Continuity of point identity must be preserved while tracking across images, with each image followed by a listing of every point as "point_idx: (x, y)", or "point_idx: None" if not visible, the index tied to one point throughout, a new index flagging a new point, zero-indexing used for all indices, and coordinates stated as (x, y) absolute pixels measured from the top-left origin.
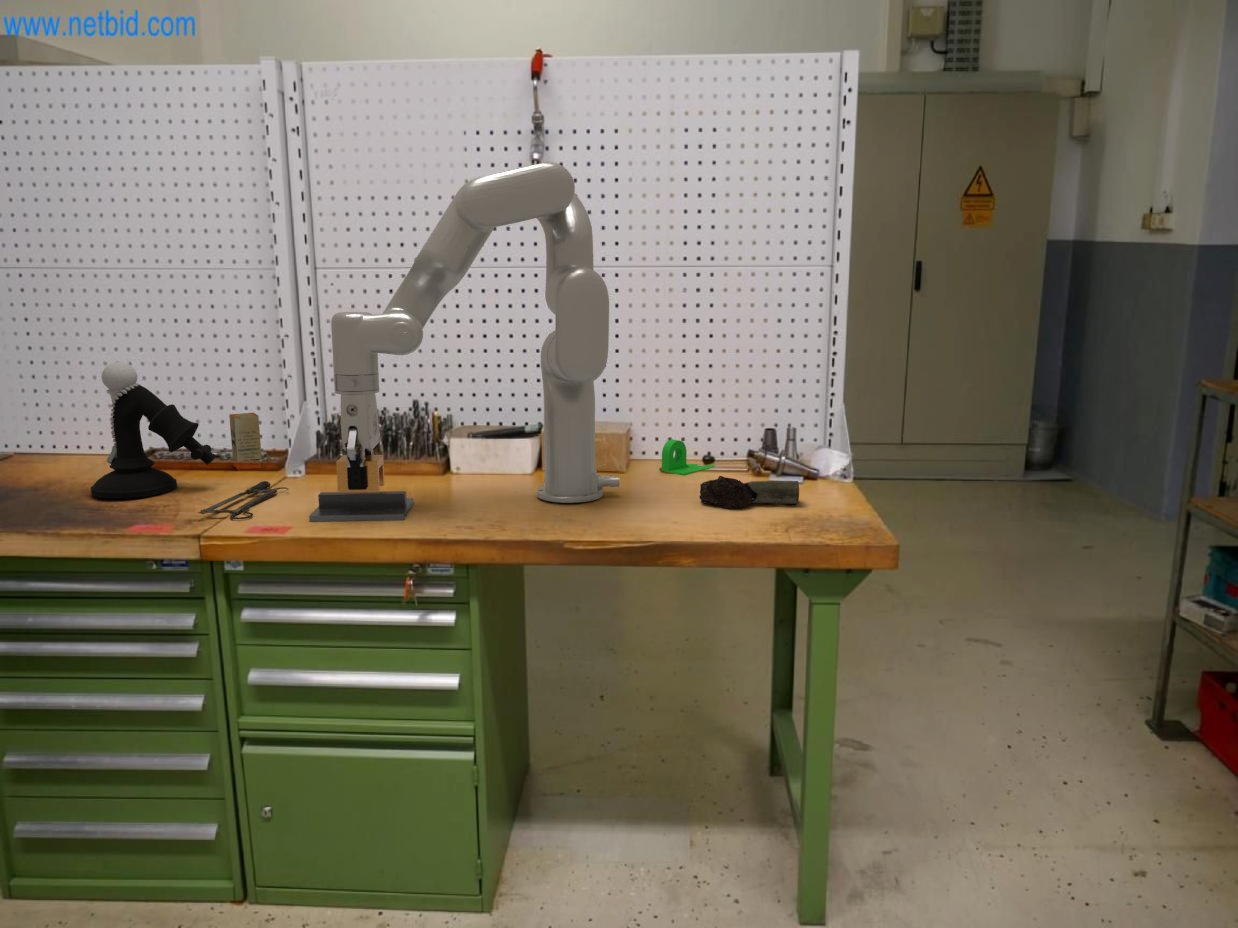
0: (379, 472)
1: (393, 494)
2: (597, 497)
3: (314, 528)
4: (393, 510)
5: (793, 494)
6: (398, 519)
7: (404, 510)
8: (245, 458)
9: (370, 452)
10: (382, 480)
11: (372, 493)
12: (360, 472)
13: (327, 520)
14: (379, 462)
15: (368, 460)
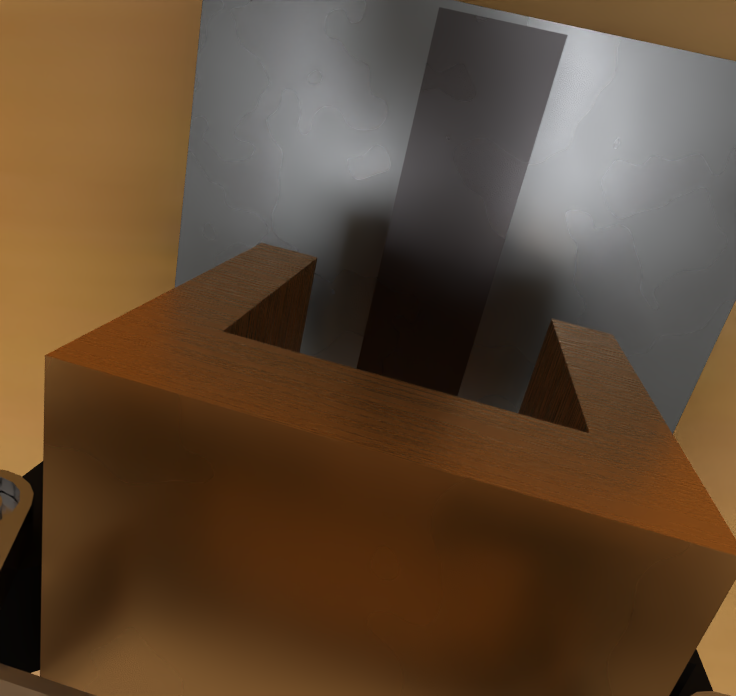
0: (263, 338)
1: (526, 164)
2: None
3: (729, 669)
4: (630, 170)
5: None
6: None
7: (676, 66)
8: None
9: (1, 584)
10: (302, 280)
11: (438, 361)
12: (706, 676)
13: None
14: (501, 451)
15: (567, 675)
